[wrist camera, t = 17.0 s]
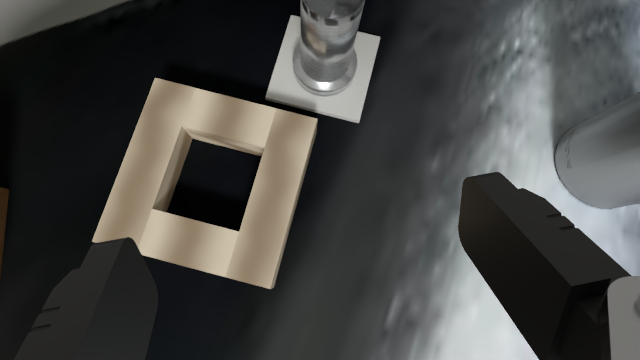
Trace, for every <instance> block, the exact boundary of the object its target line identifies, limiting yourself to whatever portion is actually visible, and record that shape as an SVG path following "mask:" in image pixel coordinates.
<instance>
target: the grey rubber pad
mask: <svg viewBox="0 0 640 360" xmlns="http://www.w3.org/2000/svg"><path fill="white" fill-rule="evenodd" d="M300 33H301V17H297V16H293V15H291V17H290V20H289V23H288V26H287V29H286V33H285V36H284V39H283V42H282V45H281V49H280V52H279V55H278V58H277V61H276V65H275V68H274V71H273V74H272V77H271V81H270V84H269V87H268V90H267V93H266V97H265V98H266V100H269V101H273V102H277V103H280V104H284V105H288V106H292V107H296V108H300V109H304V110H308V111H312V112H316V113H320V114H324V115H328V116H332V117H336V118H340V119H344V120H348V121H352V122H356V123H359V121H360V117H361V113H362V109H363V105H364V101H365V97H366V93H367V89H368V85H369V81H370V77H371V73H372V69H373V65H374V61H375V57H376V53H377V49H378V45H379V41H380V37H379V36H375V35H371V34H366V33H362V32H358V31H357V35H356V39H355V43H354V47H353V48H354V50H355V52H356V55H357V68H356V72H355V75H354V78H353V81H352V82H351V84H350V85H349V86H348V87H347V88H346V89H345V90H344V91H343V92H341V93H339V94H337V95H333V96H328V97H322V96H316V95H313V94H311V93H309V92H307V91H305V90H304V89H303V88H302V87H301V86H300V85H299V84H298V82H297V81H296V79H295V77H294V73H293V59H292V58H293V53H294V50H295V47H296V46H297V44H298V43H299V42H300Z"/></svg>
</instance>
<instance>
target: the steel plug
mask: <svg viewBox="0 0 640 360" xmlns="http://www.w3.org/2000/svg"><path fill="white" fill-rule="evenodd" d="M364 2H365V0H301V33H300V42H299V43H298V44H297V46H296V47H295V50H294V53H293V58H292V59H293V73H294V77H295V79H296V81H297V82H298V84H299V85H300V86H301V87H302V88H303V89H304V90H305V91H307V92H309V93H311V94H313V95H316V96H322V97H328V96H333V95H337V94H339V93H341V92H343V91H344V90H345V89H346V88H347V87H348V86H349V85H350V84H351V82H352V81H353V78H354V75H355V72H356V68H357V55H356V52H355V50H354V48H353V47H354V43H355V39H356V35H357V31H358V27H359V23H360V18H361V14H362V10H363V6H364Z"/></svg>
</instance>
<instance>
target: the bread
mask: <svg viewBox="0 0 640 360" xmlns="http://www.w3.org/2000/svg"><path fill="white" fill-rule="evenodd" d="M8 194H9V189H6V188H2V187H0V277H1V267H2V256H3V246H4V236H5V225H6V215H7V205H8Z"/></svg>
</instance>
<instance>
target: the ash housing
mask: <svg viewBox="0 0 640 360" xmlns="http://www.w3.org/2000/svg"><path fill="white" fill-rule="evenodd" d="M316 132H317V119H316V118H312V117H308V116H304V115H300V114H296V113H293V112H289V111H285V110H281V109H277V108H273V107H269V106H265V105H261V104H257V103H253V102H249V101H245V100H241V99H237V98H233V97H229V96H225V95H222V94H218V93H214V92H210V91H206V90H202V89H198V88H194V87H190V86H186V85H182V84H178V83H174V82H170V81H166V80H162V79H158V78H155V79H154V82H153V85H152V87H151V90H150V92H149V95H148V98H147V100H146V103H145V105H144V108H143V111H142V113H141V116H140V118H139V121H138V123H137V126H136V129H135V131H134V134H133V136H132V139H131V142H130V144H129V147H128V149H127V152H126V155H125V157H124V160H123V162H122V165H121V168H120V170H119V173H118V175H117V178H116V180H115V183H114V186H113V188H112V191H111V193H110V196H109V199H108V201H107V204H106V206H105V209H104V212H103V214H102V217H101V219H100V222H99V224H98V227H97V230H96V232H95V235H94V237H93V240H92V242H96V243H99V242H104V241H110V240H116V239H121V238H127V237H130V238H132V239H133V240H134V241H135V243H136V245H137V247H138V249H139V251H140V253H141V255H144V256H148V257H152V258H156V259H159V260H163V261H167V262H171V263H174V264H178V265H182V266H186V267H189V268H193V269H197V270H201V271H204V272H208V273H212V274H216V275H219V276H223V277H227V278H231V279H234V280H238V281H242V282H246V283H249V284H253V285H257V286H261V287H264V288H268V289H271V288H273V287H274V285H275V281H276V278H277V274H278V270H279V267H280V263H281V259H282V256H283V252H284V248H285V245H286V241H287V238H288V234H289V230H290V227H291V223H292V219H293V216H294V212H295V208H296V205H297V201H298V197H299V194H300V190H301V187H302V183H303V179H304V176H305V172H306V168H307V165H308V161H309V157H310V154H311V150H312V146H313V143H314V139H315V135H316ZM192 138H193V139H197V140H201V141H204V142H208V143H212V144H216V145H220V146H224V147H228V148H232V149H236V150H239V151H243V152H247V153H251V154H255V155H259V156H262V158H261V161H260V164H259V168H258V171H257V174H256V178H255V181H254V184H253V187H252V191H251V194H250V197H249V201H248V204H247V207H246V211H245V214H244V217H243V220H242V224H241V227H240V230H239V232H238V231H235V230H231V229H227V228H223V227H219V226H216V225H212V224H208V223H204V222H200V221H197V220H193V219H189V218H185V217H181V216H178V215H174V214H170V213H167V210H168V207H169V204H170V201H171V198H172V196H173V193H174V190H175V187H176V184H177V181H178V178H179V176H180V173H181V170H182V167H183V164H184V161H185V158H186V155H187V153H188V150H189V147H190V144H191V141H192Z"/></svg>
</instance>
